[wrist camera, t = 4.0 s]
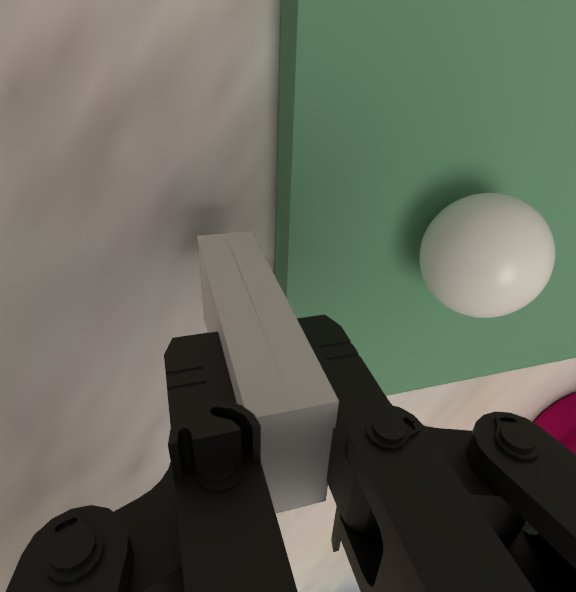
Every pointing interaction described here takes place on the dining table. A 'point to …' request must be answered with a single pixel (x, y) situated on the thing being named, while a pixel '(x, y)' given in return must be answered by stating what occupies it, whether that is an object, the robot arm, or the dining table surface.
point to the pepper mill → (561, 421)
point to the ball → (487, 255)
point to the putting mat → (422, 171)
